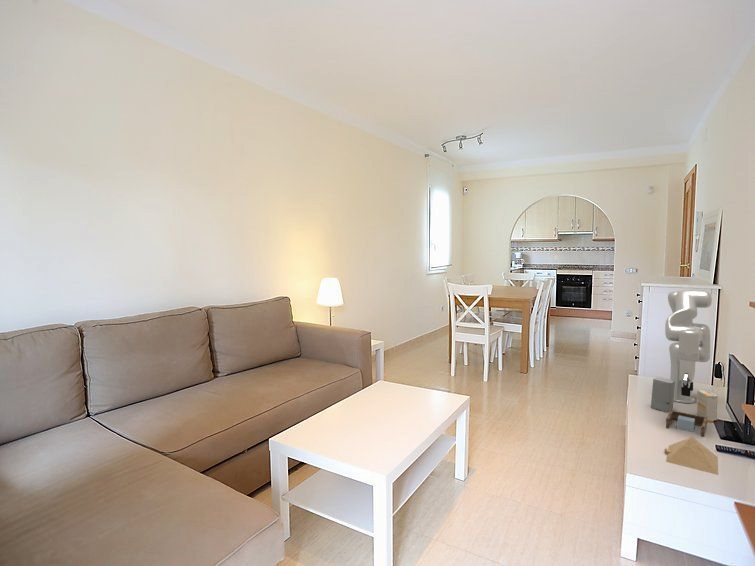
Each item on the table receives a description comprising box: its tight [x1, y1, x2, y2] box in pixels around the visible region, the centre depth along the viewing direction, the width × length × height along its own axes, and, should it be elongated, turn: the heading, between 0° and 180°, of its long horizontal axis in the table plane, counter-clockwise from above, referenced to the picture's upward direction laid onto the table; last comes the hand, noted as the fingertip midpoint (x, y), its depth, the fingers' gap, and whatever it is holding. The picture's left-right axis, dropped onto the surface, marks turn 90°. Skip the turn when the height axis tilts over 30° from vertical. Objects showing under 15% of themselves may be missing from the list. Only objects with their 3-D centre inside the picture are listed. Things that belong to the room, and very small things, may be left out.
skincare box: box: [650, 376, 675, 413], centre depth 210 cm, size 8×7×16 cm
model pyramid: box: [664, 436, 719, 476], centre depth 162 cm, size 17×17×10 cm
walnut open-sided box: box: [665, 409, 708, 438], centre depth 189 cm, size 13×14×4 cm
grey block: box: [676, 415, 696, 433], centre depth 188 cm, size 4×6×5 cm
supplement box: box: [696, 389, 719, 423], centre depth 197 cm, size 8×5×13 cm, turn 168°
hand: (687, 392), depth 186 cm, fingers open, 9 cm apart
